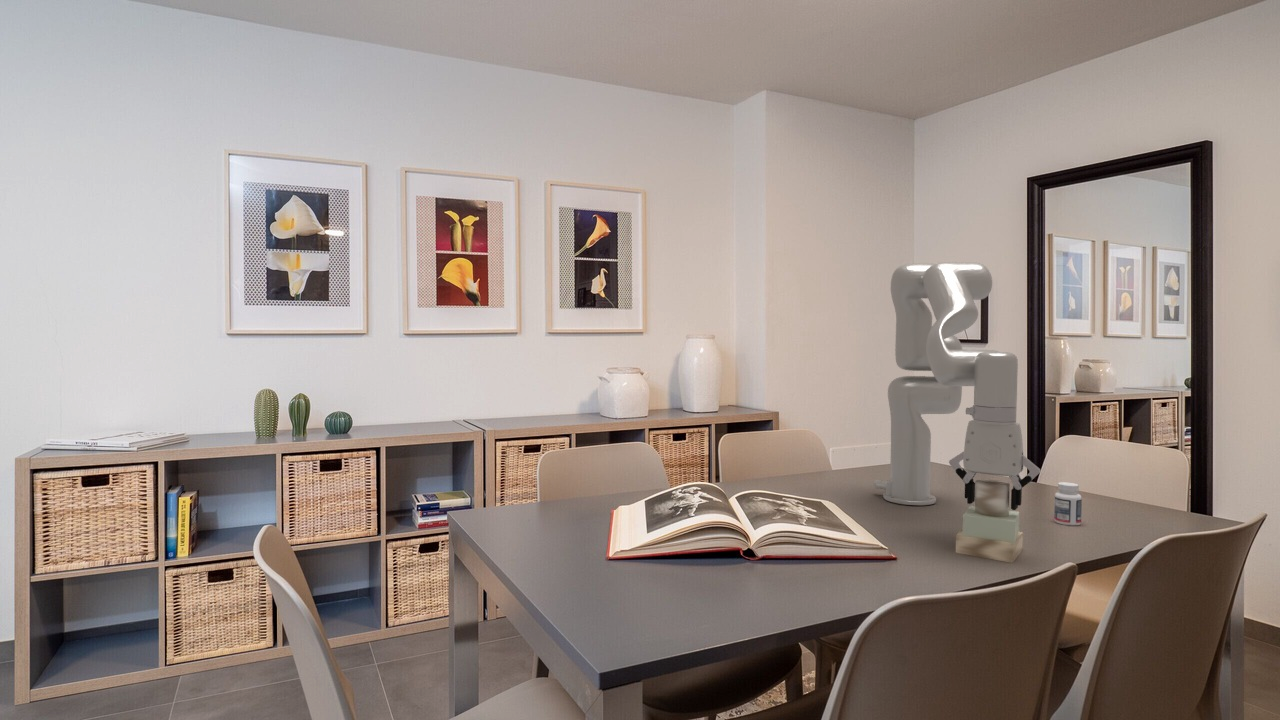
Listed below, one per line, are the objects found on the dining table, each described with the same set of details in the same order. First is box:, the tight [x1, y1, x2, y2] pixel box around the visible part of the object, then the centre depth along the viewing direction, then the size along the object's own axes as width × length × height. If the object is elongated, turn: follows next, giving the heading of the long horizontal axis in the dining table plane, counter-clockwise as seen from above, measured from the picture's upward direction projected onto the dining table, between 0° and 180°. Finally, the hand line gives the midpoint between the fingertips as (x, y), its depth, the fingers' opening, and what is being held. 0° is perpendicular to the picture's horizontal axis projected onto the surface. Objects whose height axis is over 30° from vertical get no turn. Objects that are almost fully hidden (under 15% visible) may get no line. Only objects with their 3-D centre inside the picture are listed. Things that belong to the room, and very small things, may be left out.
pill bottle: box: [1053, 481, 1083, 526], centre depth 165 cm, size 5×5×9 cm
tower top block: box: [962, 505, 1020, 543], centre depth 143 cm, size 9×9×4 cm
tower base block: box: [955, 528, 1024, 564], centre depth 143 cm, size 10×10×4 cm
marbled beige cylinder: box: [974, 479, 1010, 517], centre depth 143 cm, size 6×6×6 cm
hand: (992, 504), depth 143 cm, fingers open, 7 cm apart
